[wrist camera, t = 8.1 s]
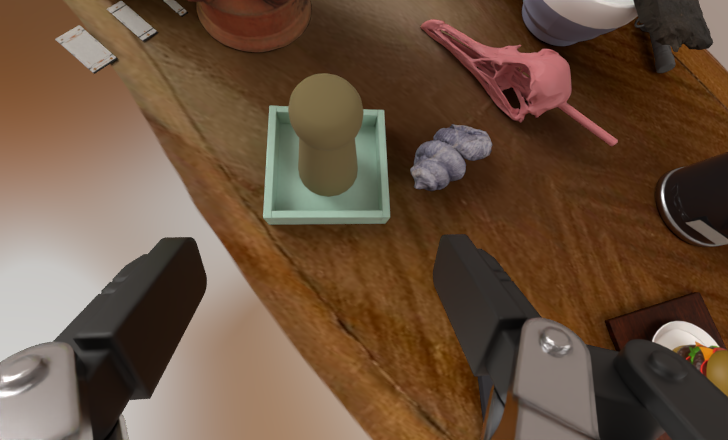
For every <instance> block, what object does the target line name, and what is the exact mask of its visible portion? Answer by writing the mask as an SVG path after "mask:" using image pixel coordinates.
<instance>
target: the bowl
mask: <svg viewBox="0 0 728 440" xmlns="http://www.w3.org/2000/svg"><path fill="white" fill-rule="evenodd" d="M522 16H523V20H524V22H525V24H526V26H527V28H528V29H529V30H530V31H531V32H532V33H533V34H534V35H535V36H536V37H537V38H539V39H540V40H542V41H544V42H546V43H548V44H551V45H555V46H569V45H572V44H574V43H577V42H579V41H585V40H590V39H593V38H595V37H597V36H599V35H601V34H605V33H608V32H611V31H613V30H615V29H617V28H619V27H621V26H624V25H626V24H628V23H629V22H630V21H632V20H633V19H635V18H636V17H637V16H638V15H637V11H636V8H635V5H634V1H633V0H523V7H522Z"/></svg>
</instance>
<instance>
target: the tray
mask: <svg viewBox="0 0 728 440" xmlns="http://www.w3.org/2000/svg"><path fill="white" fill-rule="evenodd" d="M288 107H289V106H269V122H268V140H267V157H266V175H265V193H264V211H263V218H264V219H265V220H266V222H267V223H268V224H385V223H386V222H387V221H388V220H389V218H390V204H389V187H388V170H387V153H386V135H385V118H384V110H366V109H363V111H364V113H363V121H362V126H361V128H360V130H359V132H358V134H357V136H356V137H355V144H356V154H357V164H358V172H357V178H356V180H355V182H354V184H353V185H352V186H351V187H350V188H349V189H348V190H347V191H346V192H344V193H342V194H340V195H337V196H331V197H327V196H320V195H317V194H315V193H313V192H311V191H310V190H309V189H308V188H307V187H305V186H304V184H303V183H302V181H301V179H300V177H299V171H298V159H299V137H298V136H297V135H296V133H295V131H294V129H293V127H292V126H291V123H290V118H289V112H288Z"/></svg>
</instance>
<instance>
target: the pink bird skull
mask: <svg viewBox="0 0 728 440" xmlns="http://www.w3.org/2000/svg"><path fill="white" fill-rule="evenodd" d="M420 28H421V29H423V30H424V31H425V32H426V33H427V34H428V35H429V36H430V37H432V38H433V39H434V40H436V41H437V42H439V43H440V44H442V45H443V46H444V47H446V48H447V49H448V50H449V51H450V52H451V53H452V54H453V55H454V56H455V57H456V58H457V59H458V60H459V61H460V62H461V63H462V64H463V65H464V66H465V67H466V68H467V69H468V70H469V71H470V72H471V73H472V74H473V75H474V76H475V77H476V78H477V79H478V81H479V82H480V83H481V85H482V86H483V87H484V89H485V90H486V91H487V93H488V94H489V95H490V97H491V98H492V100H493V101H494V102H495V104H496V105H497V106H498V107H499V108H500V109H501V110H502V111H503V112H505V113H506V114H507V115H508V116H509V117H510V118H511V119H512V120H517V121H519V122H522V120H524V117H525V115H526V114H528V113H531V114H532V115H535V118H537V117H538V116H540V115H541V114H543V113H544V112H545V111H547V110H550V109H553V108H555V107H558V108H560V109H561V110H562V111H564V112H565V113H566V114H568V115H569V116H570V117H572V118H573V119H574V120H576V121H577V122H579V123H580V124H581V125H583V126H584V127H585V128H587V129H588V130H589V131H591V132H592V133H593V134H595V135H596V136H598V137H599V138H600V139H602V140H603V141H604V142H606V143H607V144H608V145H610V146H613V145H615V144H616V143H617V142H618V140H617V139H615V138H614V137H613V136H611V135H610V134H609V133H607V132H606V131H604V130H603V129H602V128H600V127H599V126H598V125H596V124H595V123H594V122H592V121H591V120H589V119H588V118H587V117H585V116H584V115H583V114H581V113H580V112H579V111H577V110H576V109H574V108H573V107H572V106H570V105H569V104H568V103H567V102H566V101H567V100H568V99H569V97H570V94H571V76H570V67H569V64H568V62H567V61H566V60H565V59H564V58H562V57H561V56H559V54H558V53H557V52H555V51H553V50H551V49H542V50H541V51H539V52H538V53H536V52H535V53H520V52H518V50H517V49H518V48H519V47H520V46H521V45H519V46H506V47H503V48H492V47H488V46H485V45H482V44H480V43H478V42H476V41H474V40H473V39H471V38H470V37H468V36H466V35H465V34H463V33H462V32H460V31H458V30H456V29H455V28H453V27H451V26H450V25H448V24H445V22H444V21H441V20H436V19H432V20H428V21H426V22H424V23H423V24H422V25H421V27H420ZM441 30H443V31H445V32H447V33H448V34H450V35H451V36H453V37H455V38H456V39H458V40H460V41H461V42H463V43H464V44H465V45H467V46H468V47H470V48H471V49H470V48H468V47H466V46H465V45H463V44H461V43H459V42H457V41H456V40H454V39H452V37H450V36H448V35H446V34H444V33H442V32H441ZM472 49H473V50H472ZM480 64H482V65H483V66H484V67H485V68H484V67H483V66H482V65H480ZM476 65H477V66H478V67H479V68H480V69H481V70H482V71H481V70H479V69H478V68H477V67H476ZM517 67H520V68H522V69H519V68H517ZM516 68H517V69H516ZM518 69H519V70H522V71H521V72H519V70H518ZM528 70H529V71H528ZM522 72H526V73H527V74H528V75H529V76H530V77H531V78H530V77H526V76H525V75H523V74H522ZM484 80H485V81H486V82H487V83H488V84H486V82H485V81H484ZM519 80H520V81H521V82H520V81H519ZM517 81H518V82H517ZM497 83H498V84H497ZM498 85H499V86H500V87H499V86H498ZM501 86H502V87H501ZM510 87H512V88H514V91H515V93H516V95H517V97H518V99H519V102H520V105H521V107H520V109H519V108H517V109H515V108H513V107H512V106H511V105H510V104H509V102H508V100H507V99H506V97H505V95H504V94H503V93H502V91H503V90H504V89H509V88H510ZM521 94H522V95H523V97H522V95H521ZM524 98H525V99H526V100H527V101H528V106H529V107H528V106H527V105H526V103H525V99H524Z"/></svg>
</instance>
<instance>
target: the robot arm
mask: <svg viewBox="0 0 728 440" xmlns="http://www.w3.org/2000/svg"><path fill="white" fill-rule="evenodd" d="M655 198H656V204H657V208H658V211H659V213H660V215H661V217H662V219H663V220H664V222H665V223H666V225H667V226H668V227H669V229H670V230H671V231H672V232H673V233H674V234H676V235H677V236H678V237H679V238H681V239H682V240H684V241H686V242H687V243H690V244H692V245H695V246H699V247H712V246H719V245H723V244H728V152H726V153H723V154H720V155H717V156H714V157H711V158H708V159H705V160H703V161H700V162H697V163H694V164H691V165H689V166H686V167H681V168H678V169H675V170H672V171H669V172H667V173H666V174H664V175H663V176H662V177H661V178H660V180H659V181H658V184H657V186H656V192H655ZM433 281H434V286H435V288H436V291H437V293H438V295H439V297H440V300H441V302H442V304H443V306H444V309H445V311H446V313H447V316H448V318H449V320H450V322H451V325H452V327H453V329H454V331H455V334H456V336H457V338H458V340H459V343H460V345H461V347H462V349H463V352H464V354H465V356H466V358H467V361H468V363H469V365H470V368H471V370H472V372H473V374H474V376H486V375H489V376H490V378H491V380H492V382H493V386H492V388H491V391H490V395H489V400H488V405H487V409H486V414H485V419H484V423H483V428H482V433H481V437H480V440H656V439H657V438H659V437H660V436H661V435H662V434H664V433H665V432H666V433H667V434H668V436H669V437H670V438H671V439H672V440H728V396H726V395H725V394H724V393H723V392H722V391H721V390H720V389H719V388H718V387H717V386H716V385H714V384H713V383H712V382H711V381H710V380H709V379H708V378H707V377H706V376H705V375H703V374H702V373H701V372H700V371H699V370H698V369H697V368H696V367H695V366H694V365H692V364H691V363H690V362H689V361H687V360H686V359H685V358H683V357H682V356H680V355H679V354H677V353H676V352H674V351H672V350H670V349H669V348H667V347H664V346H662V345H660V344H657V343H655V342H651V341H648V340H643V339H633V340H630V341H629V342H627V343H626V345H625V346H624V347H623V348H622V349H621V351H620V352H618V351H613V350H609V349H604V348H600V347H595V346H591V345H586V344H585V343H584V342H583V341H582V340H581V338H579V337H578V336H577V335H576V334H575V333H574V332H573V331H571V330H570V329H569V328H567V327H565V326H564V325H562V324H560V323H558V322H555V321H553V320H550V319H545V318H542V317H541V316H540V315H539V314H538V312H537V311H536V310H535V309H534V307H533V306H532V305H531V303H530V302H529V301H528V300H527V298H526V297H525V296H524V295H523V293H522V292H521V291H520V290H519V288H518V287H517V286H516V285H515V283H514V282H513V281H511V278H510V277H509V276H508V274H507V273H506V272H504V271H503V268H502V267H501V266H500V264H499V263H498V262H497V261H496V259H495V258H494V257H492V256H491V255H489V254H488V253H487V252H485V251H484V250H482V249H477V248H476V247H475V245H474V244H473V243H472V241H471V240H470V239H469V237H468V236H467V235H465V234H460V235H443V236H442V237H441V239H440V243H439V247H438V251H437V256H436V260H435V264H434V269H433ZM206 285H207V277H206V273H205V270H204V266H203V263H202V260H201V256H200V253H199V250H198V247H197V243H196V241H195V240H194V239H193V238H191V237H178V238H177V237H175V238H163V239H161V240H160V241H159V242H158V243H157V245H156V246H155V247H154V248H153V249H152V250H151V251H150V252H149V253H148V254H144V255H142V256H140V257H139V258H137V259H136V260H134V261H132V262H131V263H129V264H128V265H126V266H125V267H124V268H123V269H122V270H121V271H120V272H119V273H118V274H117V275H116V276H115V277H114V278H113V281H112V282H110V283H109V284H108V285H107V286H106V287H105V288H104V289H103V290H102V293H101V294H98V295H97V296H96V297H95V298H94V299H93V300H92V301H91V303H89V305H88V306H87V307H86V308H85V309H84V310H83V311H82V312H81V313H80V314H79V315H78V316H77V317H76V318H75V319H74V320H73V321H72V322H71V323H70V324H69V325H68V326H67V328H66V329H65V330H64V331H63V332H62V333H61V334H60V335H59V336H58V337H57V338H56V339H55V340H54V341H53V342H47V343H42V344H39V345H35V346H32V347H29V348H27V349H24V350H22V351H20V352H18V353H16V354H14V355H12V356H10V357H8V358H7V359H5V360H3V361H1V362H0V440H129V437H128V432H127V427H126V423H125V419H124V416H123V415H122V412H123V410H124V408H125V407H126V405H127V403H128V401H129V400H136V399H150V398H151V396H152V394H153V392H154V390H155V388H156V386H157V384H158V382H159V380H160V378H161V377H162V375H163V373H164V371H165V369H166V367H167V365H168V363H169V361H170V359H171V357H172V355H173V353H174V352H175V350H176V348H177V346H178V344H179V342H180V340H181V338H182V336H183V334H184V332H185V330H186V328H187V326H188V325H189V323H190V321H191V319H192V317H193V315H194V313H195V311H196V309H197V307H198V305H199V303H200V302H201V300H202V298H203V296H204V293H205V290H206Z"/></svg>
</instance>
